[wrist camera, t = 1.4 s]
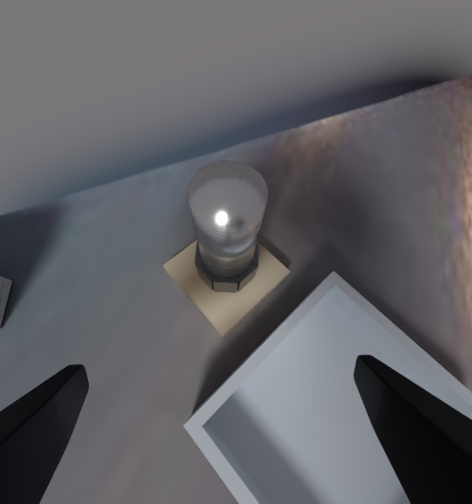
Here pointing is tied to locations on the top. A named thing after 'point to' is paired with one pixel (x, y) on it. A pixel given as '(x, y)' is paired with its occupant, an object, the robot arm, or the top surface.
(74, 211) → the top surface
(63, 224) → the top surface
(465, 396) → the tray
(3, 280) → the medicine box
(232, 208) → the grey piece
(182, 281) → the stud base
